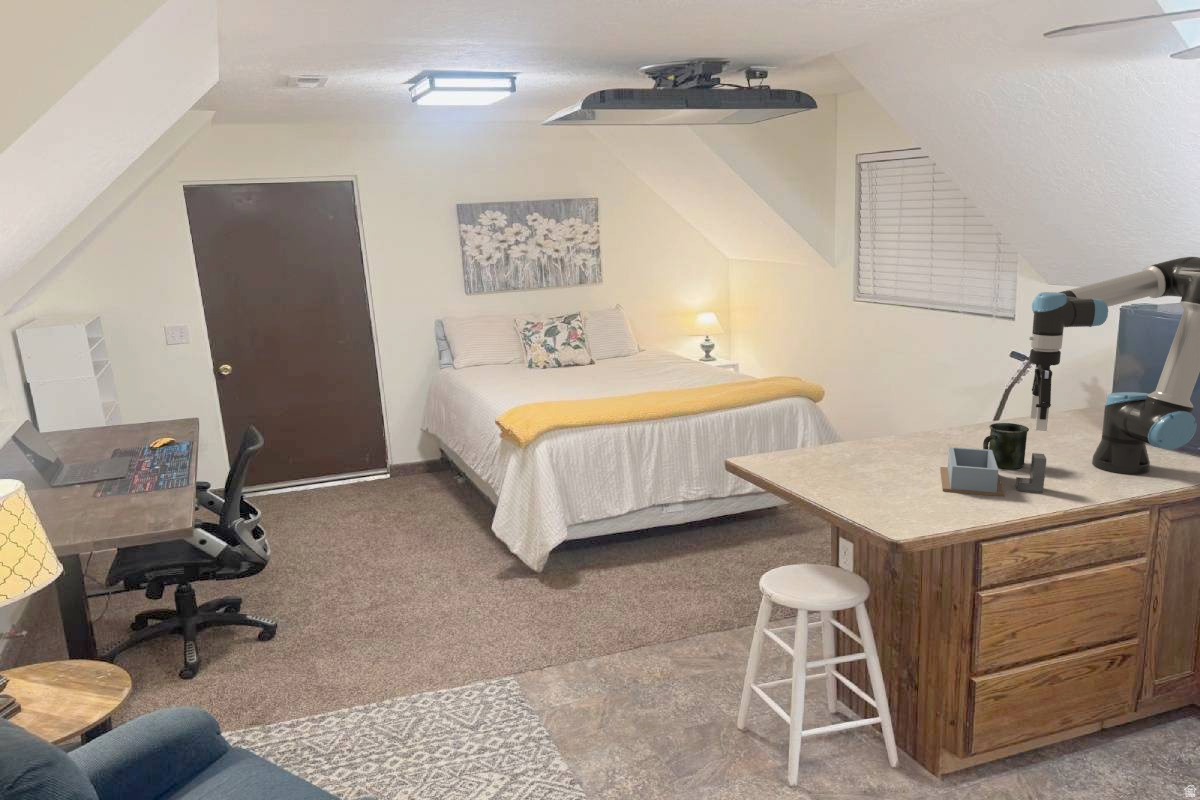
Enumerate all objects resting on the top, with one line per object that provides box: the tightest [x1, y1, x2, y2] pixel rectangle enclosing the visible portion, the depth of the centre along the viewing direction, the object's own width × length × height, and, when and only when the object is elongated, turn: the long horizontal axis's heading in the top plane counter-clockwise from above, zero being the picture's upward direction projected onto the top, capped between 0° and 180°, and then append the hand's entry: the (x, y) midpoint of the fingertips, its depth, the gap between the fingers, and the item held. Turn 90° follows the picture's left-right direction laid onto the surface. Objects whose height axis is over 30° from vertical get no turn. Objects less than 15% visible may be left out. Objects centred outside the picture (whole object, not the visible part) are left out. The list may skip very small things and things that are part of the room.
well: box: [939, 446, 1005, 497], centre depth 259 cm, size 16×21×7 cm
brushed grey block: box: [1015, 452, 1047, 494], centre depth 252 cm, size 6×5×10 cm
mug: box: [982, 422, 1030, 470], centre depth 274 cm, size 11×15×12 cm
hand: (1038, 424), depth 250 cm, fingers open, 13 cm apart
